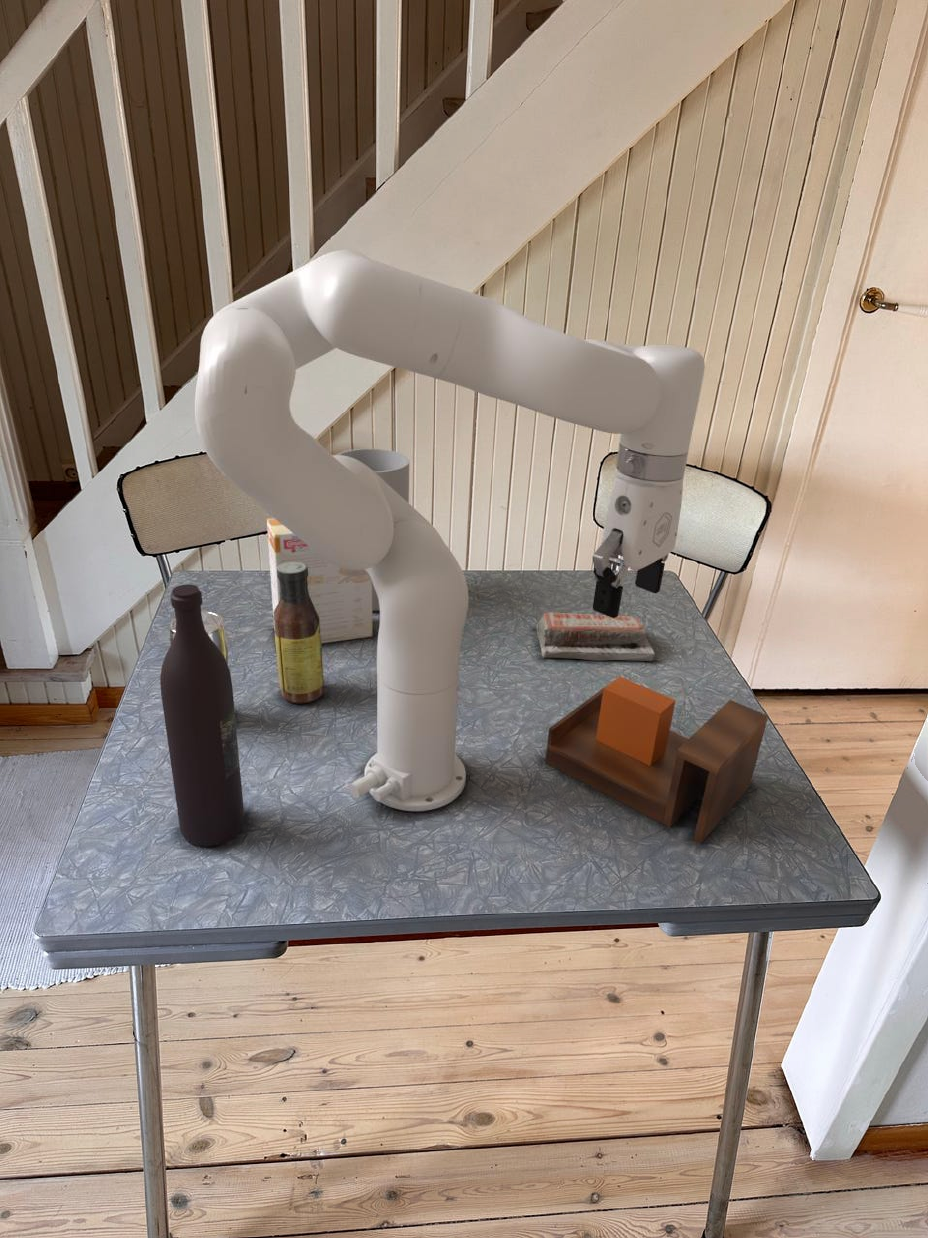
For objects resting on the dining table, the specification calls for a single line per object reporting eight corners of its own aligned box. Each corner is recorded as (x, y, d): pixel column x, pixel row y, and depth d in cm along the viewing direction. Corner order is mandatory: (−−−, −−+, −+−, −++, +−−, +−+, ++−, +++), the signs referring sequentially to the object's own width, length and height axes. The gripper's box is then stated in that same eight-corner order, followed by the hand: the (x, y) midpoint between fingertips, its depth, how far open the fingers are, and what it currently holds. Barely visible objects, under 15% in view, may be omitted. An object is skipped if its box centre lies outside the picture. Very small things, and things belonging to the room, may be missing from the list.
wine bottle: (240, 847, 93) (217, 606, 79) (174, 849, 92) (139, 606, 78) (248, 805, 99) (227, 574, 85) (186, 807, 98) (155, 574, 84)
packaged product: (544, 632, 130) (537, 603, 139) (541, 659, 132) (535, 629, 141) (659, 636, 131) (645, 607, 140) (654, 662, 133) (640, 632, 142)
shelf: (700, 844, 97) (719, 768, 92) (544, 762, 109) (553, 691, 104) (749, 787, 107) (768, 715, 102) (601, 718, 119) (611, 651, 114)
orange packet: (650, 766, 105) (660, 713, 101) (595, 740, 109) (603, 688, 105) (665, 752, 107) (675, 700, 104) (611, 727, 112) (619, 676, 108)
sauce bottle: (332, 694, 121) (329, 568, 111) (297, 711, 117) (290, 582, 107) (304, 676, 125) (298, 553, 115) (269, 692, 120) (260, 566, 111)
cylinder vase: (332, 583, 153) (329, 449, 141) (400, 579, 156) (402, 447, 144) (339, 615, 142) (336, 473, 130) (412, 610, 145) (415, 470, 133)
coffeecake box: (362, 617, 142) (361, 508, 133) (373, 637, 136) (373, 525, 127) (272, 629, 137) (265, 516, 128) (280, 650, 131) (273, 534, 122)
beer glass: (217, 699, 118) (207, 604, 111) (244, 721, 114) (235, 624, 107) (171, 718, 114) (157, 620, 107) (197, 741, 109) (185, 641, 102)
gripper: (641, 487, 85) (615, 636, 93) (716, 457, 97) (688, 590, 105) (579, 469, 89) (559, 612, 97) (659, 441, 101) (635, 571, 109)
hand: (626, 601), depth 101 cm, fingers open, 9 cm apart
